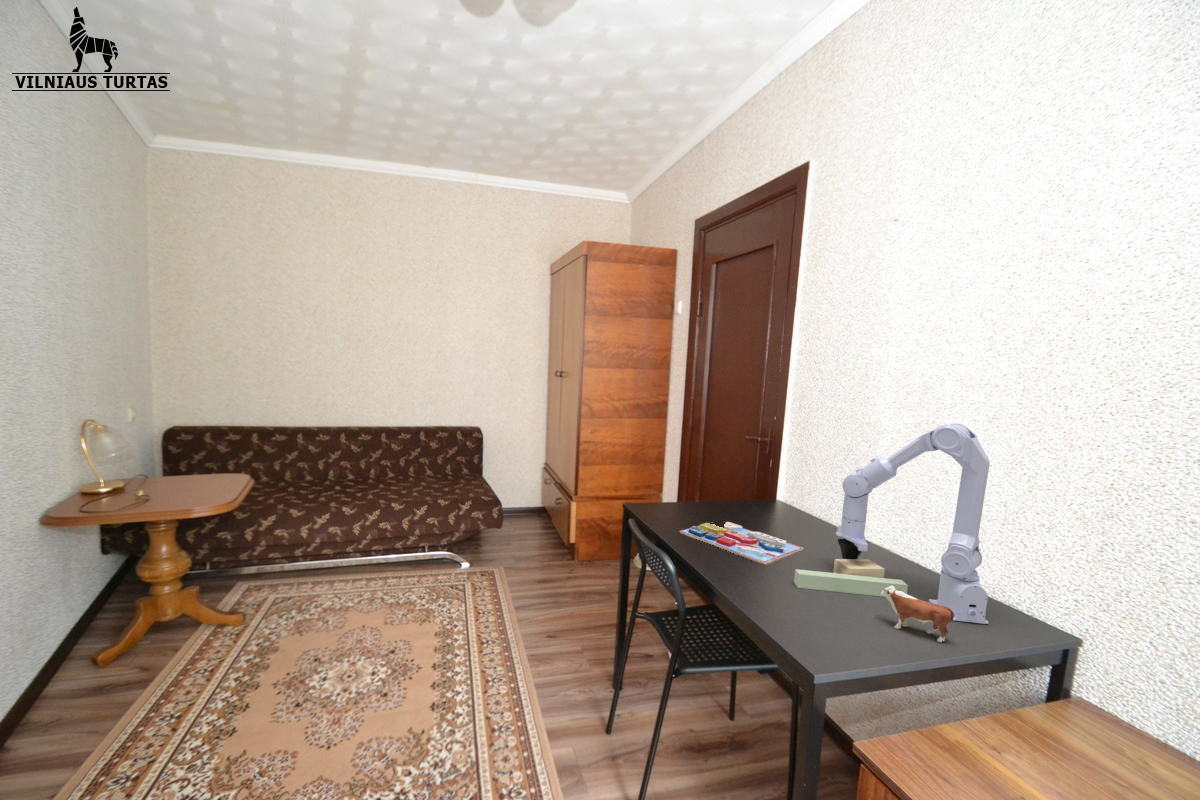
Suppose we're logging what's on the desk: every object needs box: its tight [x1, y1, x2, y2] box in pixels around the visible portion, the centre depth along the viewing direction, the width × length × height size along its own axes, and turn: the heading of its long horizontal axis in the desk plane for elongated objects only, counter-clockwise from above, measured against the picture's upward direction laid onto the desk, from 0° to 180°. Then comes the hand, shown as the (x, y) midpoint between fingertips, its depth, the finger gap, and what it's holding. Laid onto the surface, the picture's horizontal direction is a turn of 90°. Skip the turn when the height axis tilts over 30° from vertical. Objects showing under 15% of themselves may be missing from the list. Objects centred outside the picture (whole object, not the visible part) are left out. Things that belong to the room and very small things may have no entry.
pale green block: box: [793, 568, 909, 598], centre depth 123 cm, size 3×26×4 cm, turn 85°
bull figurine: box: [881, 586, 954, 644], centre depth 105 cm, size 4×13×8 cm, turn 51°
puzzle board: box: [678, 521, 805, 567], centre depth 155 cm, size 30×23×3 cm
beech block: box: [832, 558, 886, 578], centre depth 129 cm, size 6×10×5 cm, turn 98°
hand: (848, 567), depth 134 cm, fingers closed
